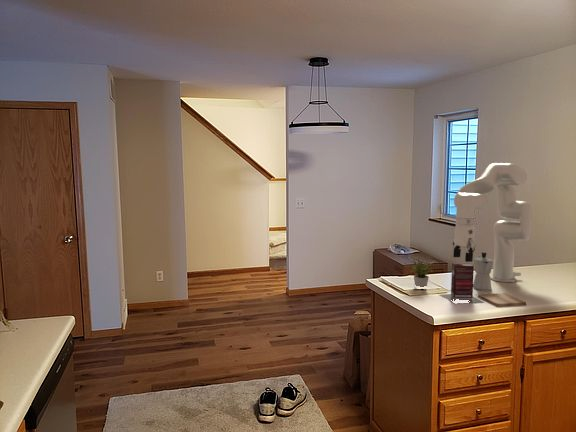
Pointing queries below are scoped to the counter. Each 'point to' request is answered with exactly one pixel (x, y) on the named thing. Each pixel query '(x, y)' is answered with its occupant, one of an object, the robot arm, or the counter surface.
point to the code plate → (448, 296)
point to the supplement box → (462, 281)
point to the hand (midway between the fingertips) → (462, 259)
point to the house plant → (421, 273)
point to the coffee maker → (482, 273)
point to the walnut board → (501, 299)
